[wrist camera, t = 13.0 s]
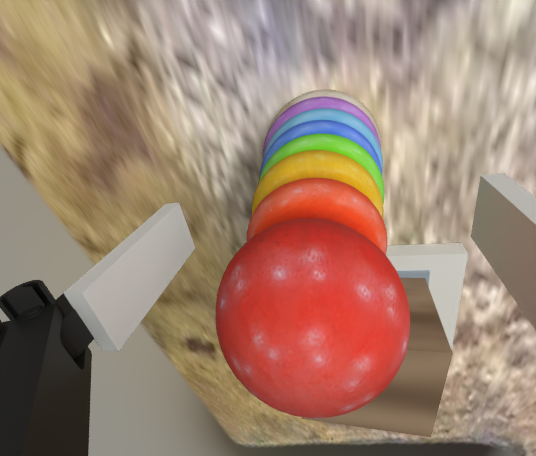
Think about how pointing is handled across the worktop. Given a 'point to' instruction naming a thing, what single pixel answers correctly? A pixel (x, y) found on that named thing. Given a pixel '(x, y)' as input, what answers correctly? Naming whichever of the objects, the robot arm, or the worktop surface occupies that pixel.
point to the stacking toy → (316, 267)
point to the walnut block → (410, 374)
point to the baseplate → (435, 275)
